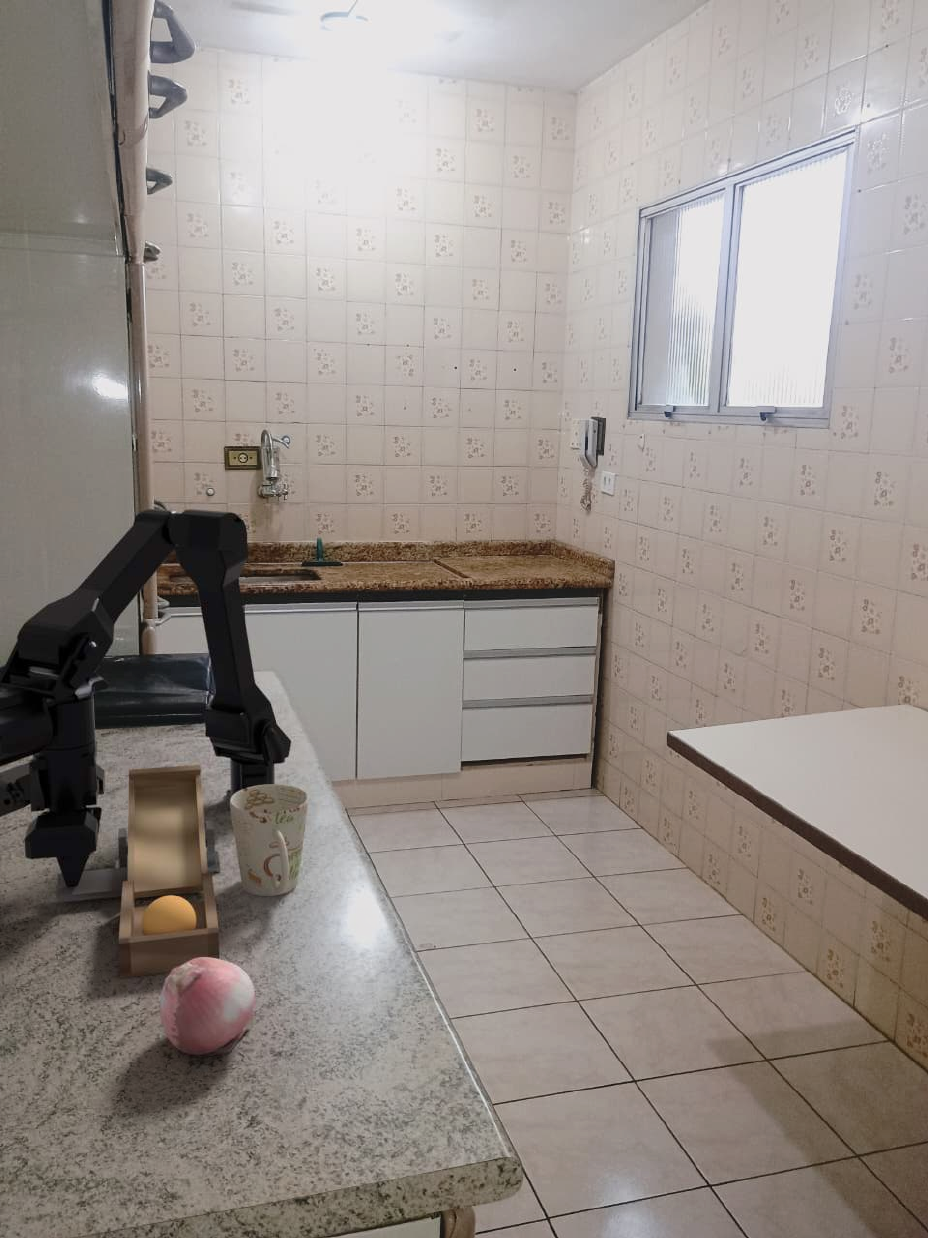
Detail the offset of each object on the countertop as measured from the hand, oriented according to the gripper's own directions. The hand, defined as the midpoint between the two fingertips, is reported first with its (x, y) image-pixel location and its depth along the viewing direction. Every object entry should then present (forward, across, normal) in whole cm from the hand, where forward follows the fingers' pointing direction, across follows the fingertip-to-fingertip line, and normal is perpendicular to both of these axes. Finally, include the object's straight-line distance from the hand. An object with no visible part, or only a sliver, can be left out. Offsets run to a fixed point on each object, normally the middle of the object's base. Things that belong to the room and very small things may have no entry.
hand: (72, 885), depth 102 cm
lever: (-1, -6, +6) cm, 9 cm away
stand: (+2, -6, +10) cm, 12 cm away
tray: (+2, +9, +10) cm, 13 cm away
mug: (+2, +2, +20) cm, 21 cm away
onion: (+3, +27, +12) cm, 30 cm away
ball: (-1, +12, +10) cm, 15 cm away
